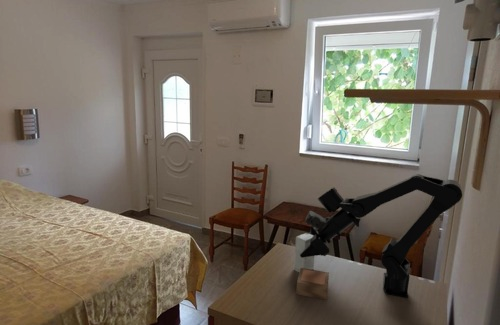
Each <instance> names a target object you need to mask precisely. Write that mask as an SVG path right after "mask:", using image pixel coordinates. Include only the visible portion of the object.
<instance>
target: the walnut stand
mask: <svg viewBox="0 0 500 325" xmlns="http://www.w3.org/2000/svg"><path fill="white" fill-rule="evenodd" d="M329 280H330V272H329V271H323V270H316V269H313V270H311V269H305V268H300V273H299V272H298V277H297V281H296V290H295V291H296V295H299V296H304V297H309V298H315V299H322V300H326V301H327V300H328V289H329Z"/></svg>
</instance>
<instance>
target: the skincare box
mask: <svg viewBox="0 0 500 325" xmlns="http://www.w3.org/2000/svg"><path fill="white" fill-rule="evenodd" d="M313 236H314V235H311V234H309V232H308V233H307V232H305V233H303V234H300V235H297V236H296V237H295V246H294V247H295V248H294V262H293V265H294V266H293V270H294V271H295V272H298V274H299V273H300V268H305V269H311V270H315V266H314V265H315V256H309V257H303V258H302V257H301V256H300V254H301V253H302V252H303V251H304V250H305V249H306V248H307V247H308V246H309V245H310V239H312V237H313Z"/></svg>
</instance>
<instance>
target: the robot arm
mask: <svg viewBox="0 0 500 325" xmlns="http://www.w3.org/2000/svg"><path fill="white" fill-rule="evenodd" d="M414 191H419V192H422V193H424V194H427V195H429V196H432V198H431V200H430V201H429V203H428V204H427V205H426V207H425V208H424V210H422V212H421V213H420V214H419V215H418V216H417V218H416V219H415V220H414V221H413V222H412V223H411V225H410V226H409V227H408V228H407V229H406V230H405V231H404V233H403V234H402V236H400V237H399V238H397V239H395V238H394V237H391V238H390V241H388V243H387V244H385V245H384V247H383V249H382V251H381V254H382V256H381V258H380V261H381V265H382V266H384V268H385V272H384V273H383V278H382V288H383V289H384V292H385V294H387V295H391V296H398V297H404V298H409V284H410V273H409V271H410V266H411V263H410V260H408V259H407V258H406V257H407V256H408V254H409V251H410V249H411V248H412V247H413V246H414V245H415V244H416V243H417V242H418V240H419V239H421V237H422V236H423V234H425V232H426V231H427V230H428V229H429V228H430V227H431V226H432V225H433V224H434V222H435V221H436V220H437V219H438V218H439V216H441V215H442V214H444V212H447V211H448V210H450V209H451V208H453V207H454V206H456V205H457V204H458V203H459V202H460V201H461V200H462V198H463V189H462V185H461V184H460V183H459V182H458V181H456V180H454V179H445V180H443V179H441V178H437V177H436V178H435V177H430V176H426V175H422V174H420V173H415V174H412V175H411V176H410V177H408V178H405V179H403V180H401V181H399V182H397V183H395V184H392V185H390V186H388V187H385V188H383V189H381V190H378V191H377V192H373V193H367V194H362V195H359V196H357V197H354V198H352V197H346V198H343V197H342V196H341V194H340V193H339V192H338V190H337V188H335V187H334V186H332V187H331V188H330V189H329V190H327V191H326V192H325V193H323V194H322V195H321V196H319V197H318V198H317V201H319V203H320V204H321V205H322V206H323V208H324V210H326V211H327V212H328V213H332V214H333V213H334V214H333V215H332V216H326V217H323V216H322V215H320V214H318V213H316V212H314V211H312V210H309V211H308V213H307V216H305V223H306V224H308V225H310V232H308V234H311V235H314V236H313V237H312V239H310V245H309V246H308V247H307V248H306V249H305V250H304V251H303V252H302V253H301V254H300V256H301V257H302V258H303V257H309V256H314V257H317V256H321V257H326V256H327V255H329V254H330V243H332V239H333V238H335V237H336V236H338V237H340V236H341V235H342V232H343V231H344V230H346V229H347V228H348V227H349V226H351V225H352V224H354V225H355V226H356V227H357V228H359V227H360V222H361V221H362V220H361V219H362V218H363V217H366V216H367V215H369V214H370V213H372V212H373V211H375V210H376V209H377V208H378V207H380V206H381V205H385V204H386V203H389V202H391V201H393V200H396V199H398V198H400V197H403V196H405V195H408V194H411V193H412V192H414ZM337 210H338V211H337ZM336 211H337V212H336ZM335 212H336V213H335Z"/></svg>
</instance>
